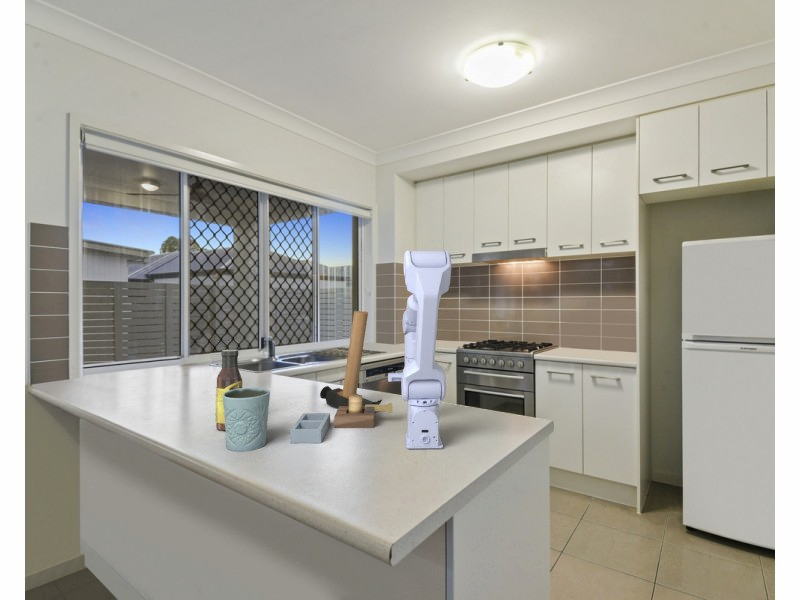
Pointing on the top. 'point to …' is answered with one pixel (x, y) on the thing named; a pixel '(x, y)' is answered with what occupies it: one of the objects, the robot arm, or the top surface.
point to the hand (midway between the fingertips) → (415, 408)
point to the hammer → (350, 366)
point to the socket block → (354, 418)
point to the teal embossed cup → (246, 418)
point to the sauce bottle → (226, 383)
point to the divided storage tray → (310, 428)
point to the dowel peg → (355, 404)
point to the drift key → (381, 407)
